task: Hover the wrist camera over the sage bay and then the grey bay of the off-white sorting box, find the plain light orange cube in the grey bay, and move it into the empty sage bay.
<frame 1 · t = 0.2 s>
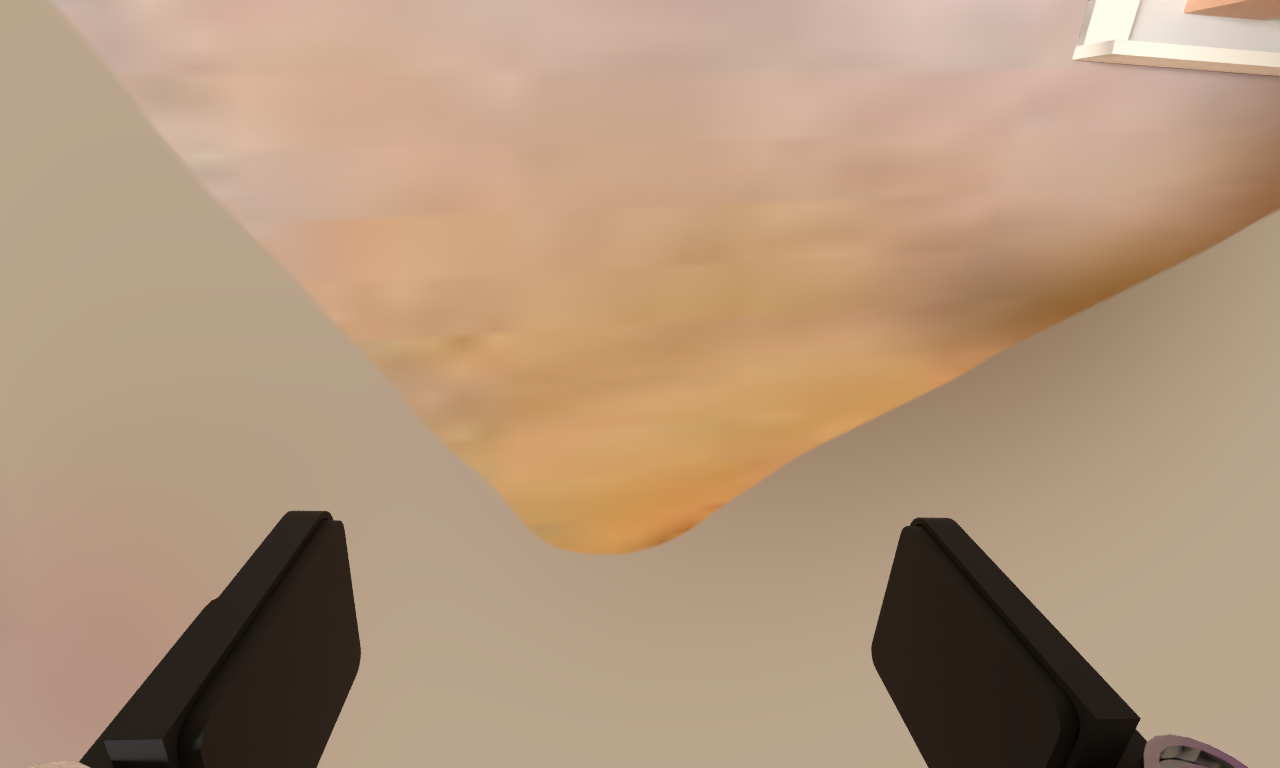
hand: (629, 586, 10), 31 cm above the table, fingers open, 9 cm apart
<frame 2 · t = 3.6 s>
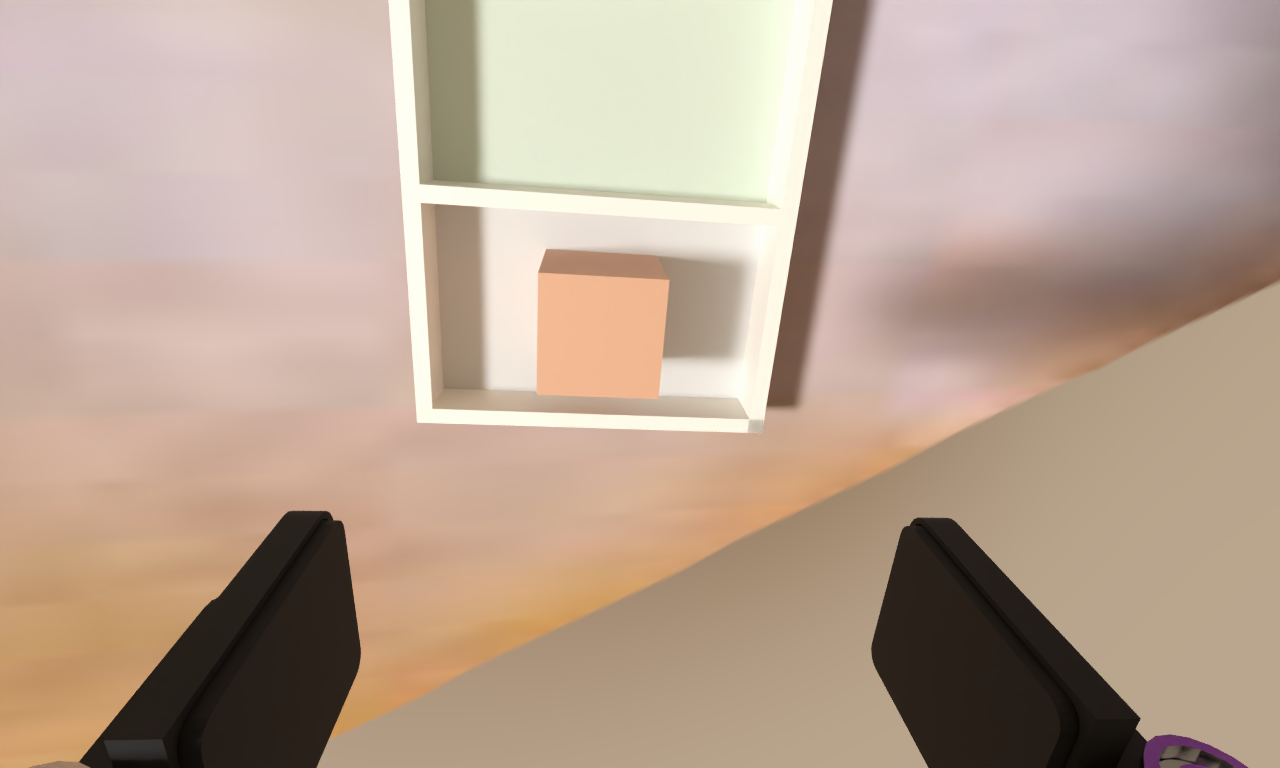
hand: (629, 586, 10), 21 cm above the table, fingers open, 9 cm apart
sorting box: (603, 198, 28), on the table
plain light orange cube: (598, 305, 29), point 1 cm above the table, touching sorting box
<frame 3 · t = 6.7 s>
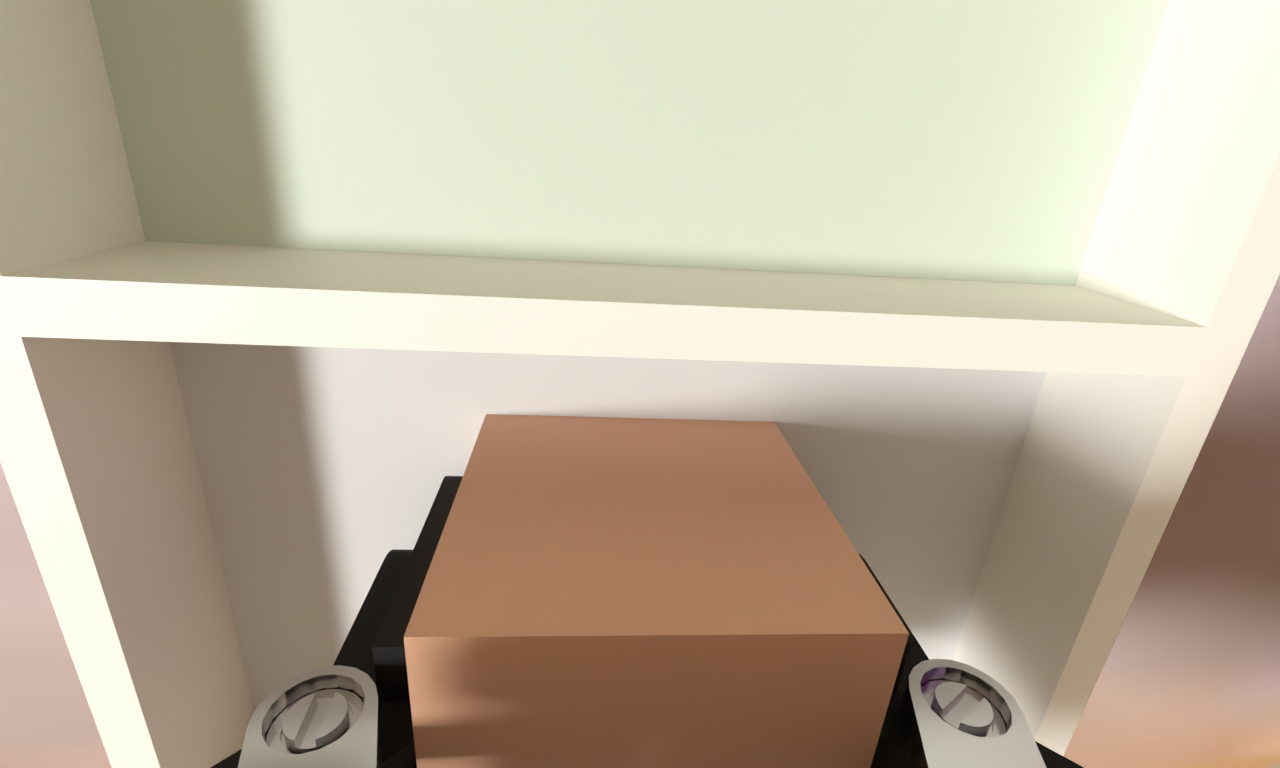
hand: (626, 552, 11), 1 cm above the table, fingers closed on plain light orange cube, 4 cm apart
sorting box: (638, 278, 10), on the table
plain light orange cube: (625, 538, 12), point 1 cm above the table, touching gripper, sorting box
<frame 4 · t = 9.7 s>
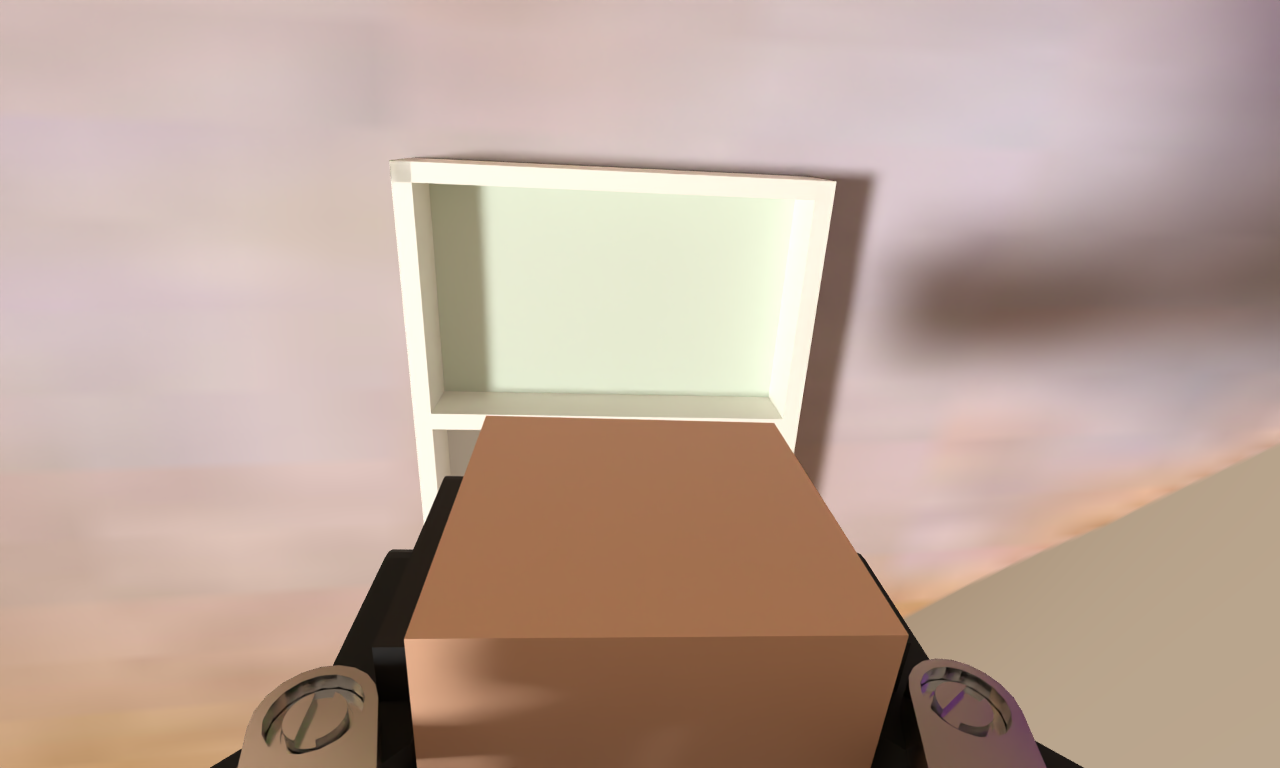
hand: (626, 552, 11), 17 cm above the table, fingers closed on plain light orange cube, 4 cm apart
sorting box: (609, 396, 29), on the table
plain light orange cube: (625, 539, 12), point 17 cm above the table, touching gripper
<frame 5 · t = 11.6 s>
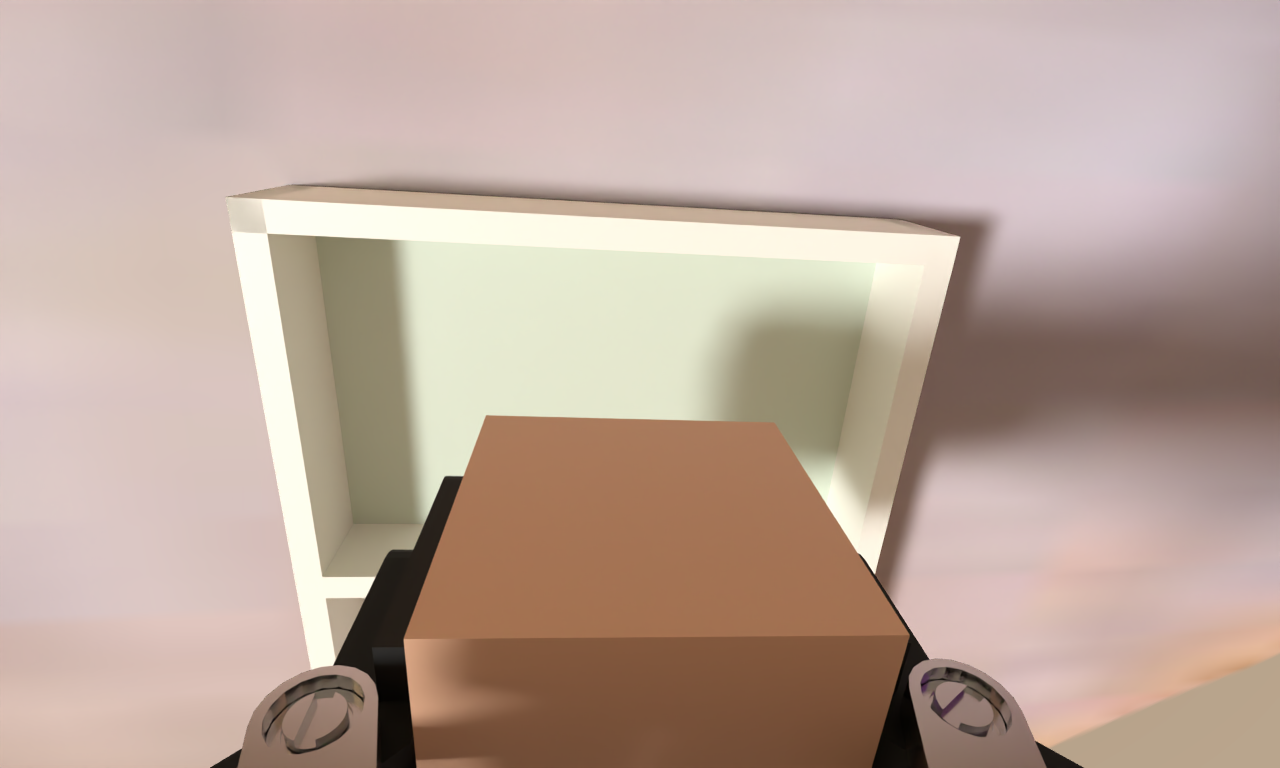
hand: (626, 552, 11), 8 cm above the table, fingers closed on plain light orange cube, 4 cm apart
sorting box: (595, 522, 20), on the table
plain light orange cube: (625, 539, 12), point 7 cm above the table, touching gripper
when the fingers open (3 cm above the table, at t = 13.0 s): plain light orange cube drops 2 cm, resting on sorting box.
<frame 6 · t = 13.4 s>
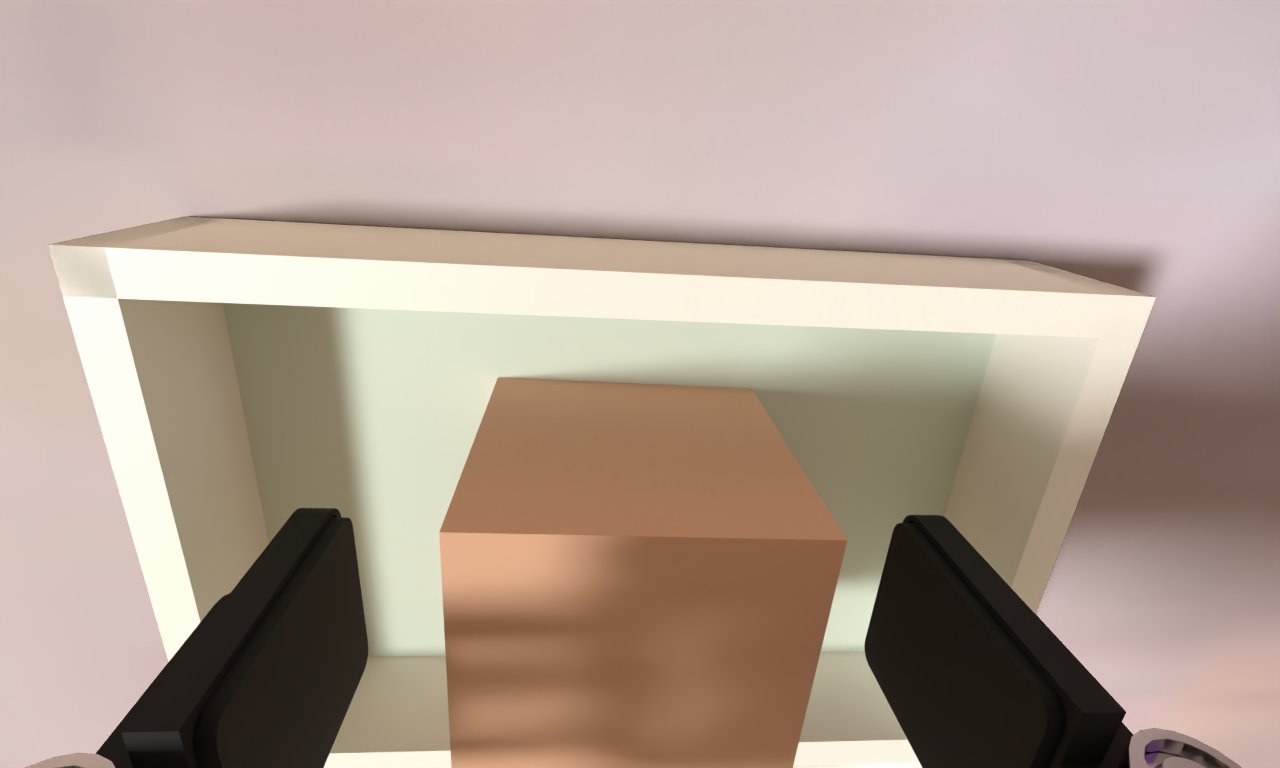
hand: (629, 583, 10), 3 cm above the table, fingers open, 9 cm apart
sorting box: (610, 646, 15), on the table
plain light orange cube: (619, 492, 13), point 1 cm above the table, touching sorting box
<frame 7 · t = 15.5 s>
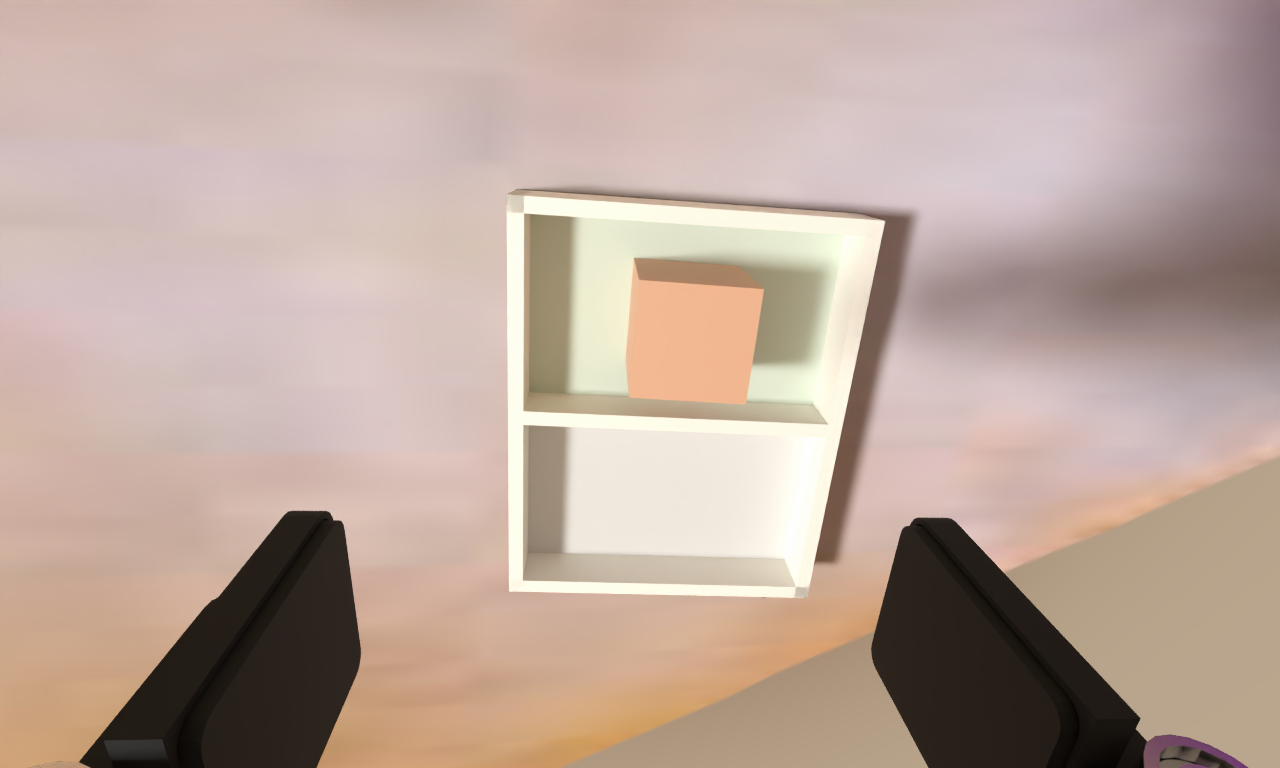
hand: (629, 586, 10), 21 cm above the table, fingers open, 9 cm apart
sorting box: (671, 400, 32), on the table
plain light orange cube: (680, 313, 30), point 1 cm above the table, touching sorting box
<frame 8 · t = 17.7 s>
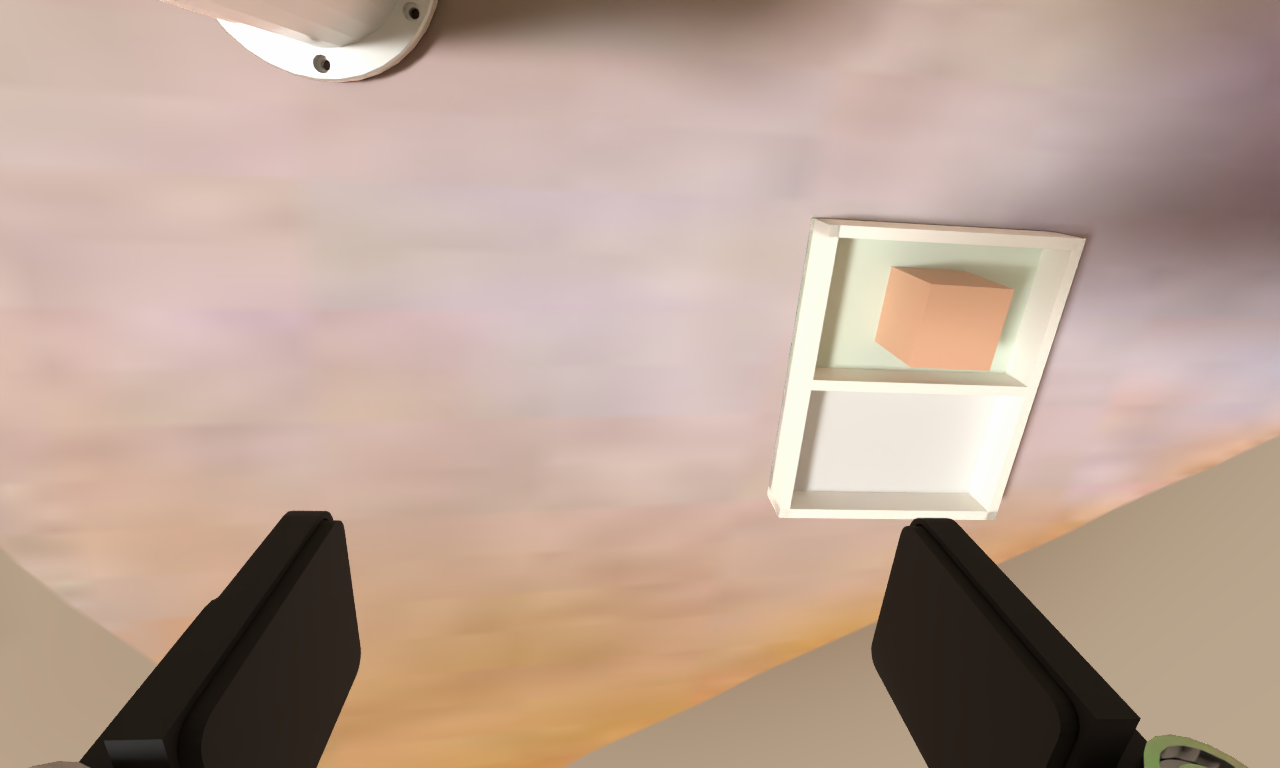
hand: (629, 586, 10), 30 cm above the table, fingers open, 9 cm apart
sorting box: (899, 372, 43), on the table
plain light orange cube: (919, 306, 41), point 1 cm above the table, touching sorting box
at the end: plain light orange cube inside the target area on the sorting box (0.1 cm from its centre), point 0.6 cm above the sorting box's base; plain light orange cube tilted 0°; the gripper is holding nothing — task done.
